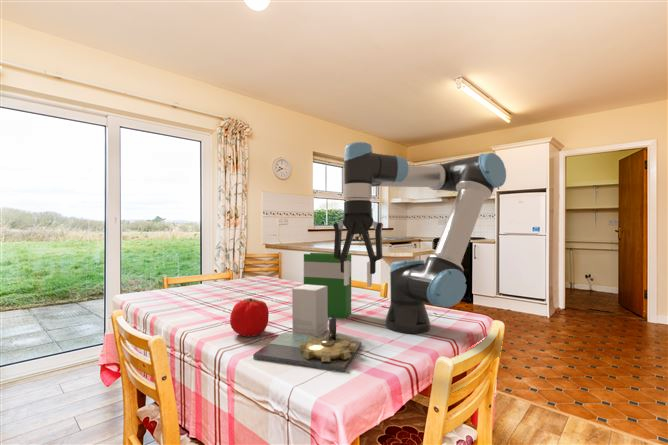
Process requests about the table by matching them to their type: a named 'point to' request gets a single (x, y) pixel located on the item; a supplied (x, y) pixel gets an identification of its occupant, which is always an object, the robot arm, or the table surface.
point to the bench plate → (300, 353)
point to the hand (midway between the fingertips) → (357, 285)
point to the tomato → (249, 317)
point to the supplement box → (310, 309)
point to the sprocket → (328, 345)
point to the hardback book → (329, 281)
